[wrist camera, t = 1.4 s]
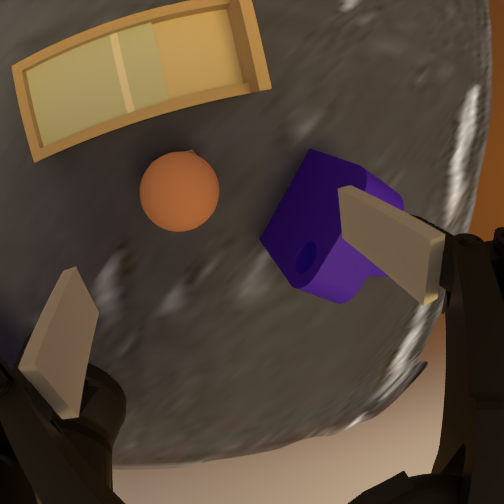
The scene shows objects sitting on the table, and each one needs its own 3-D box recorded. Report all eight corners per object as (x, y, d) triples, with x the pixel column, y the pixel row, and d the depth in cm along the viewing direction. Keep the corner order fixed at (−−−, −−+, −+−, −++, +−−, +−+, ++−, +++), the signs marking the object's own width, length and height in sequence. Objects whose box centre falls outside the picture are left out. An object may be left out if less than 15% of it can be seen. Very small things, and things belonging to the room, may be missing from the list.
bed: (42, 159, 25) (21, 169, 20) (20, 68, 20) (-4, 63, 16) (255, 92, 27) (271, 88, 23) (234, -1, 23) (246, -19, 18)
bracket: (259, 239, 34) (300, 299, 24) (309, 148, 31) (376, 171, 21) (370, 287, 41) (422, 339, 31) (412, 219, 38) (475, 257, 28)
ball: (154, 225, 27) (152, 254, 22) (134, 160, 24) (124, 173, 19) (220, 205, 28) (234, 230, 22) (204, 139, 25) (213, 146, 20)
